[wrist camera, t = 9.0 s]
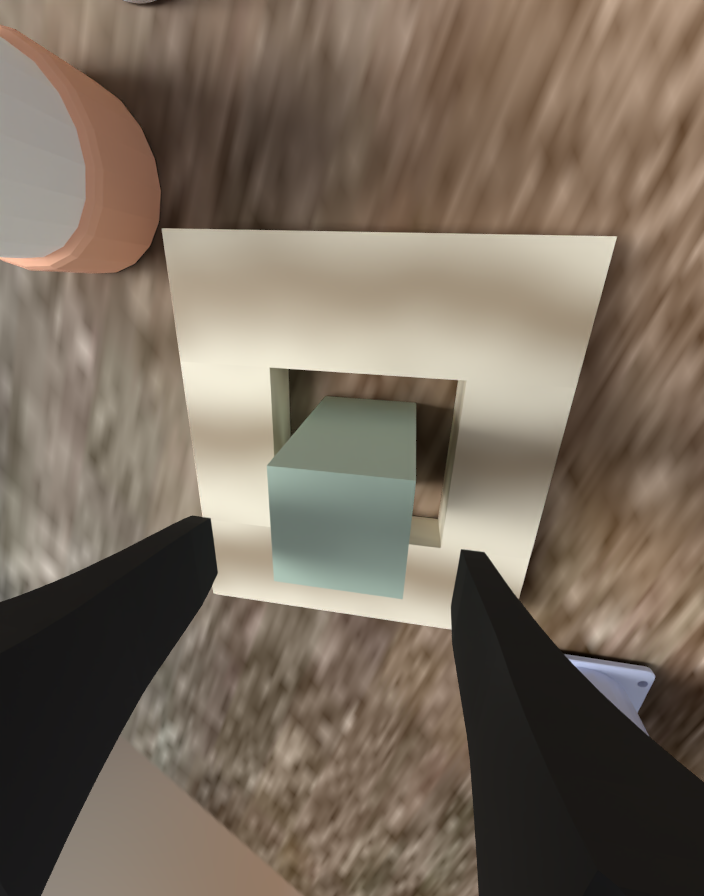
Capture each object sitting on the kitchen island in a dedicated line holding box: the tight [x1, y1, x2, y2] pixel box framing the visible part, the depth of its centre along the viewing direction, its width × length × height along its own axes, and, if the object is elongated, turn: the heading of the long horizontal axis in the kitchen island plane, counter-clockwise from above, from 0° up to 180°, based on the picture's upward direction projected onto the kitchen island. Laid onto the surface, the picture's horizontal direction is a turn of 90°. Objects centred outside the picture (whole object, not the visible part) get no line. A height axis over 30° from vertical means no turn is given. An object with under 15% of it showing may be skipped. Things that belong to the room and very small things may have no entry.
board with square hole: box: [162, 228, 617, 629], centre depth 18 cm, size 18×16×2 cm
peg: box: [267, 396, 416, 599], centre depth 15 cm, size 4×4×8 cm
